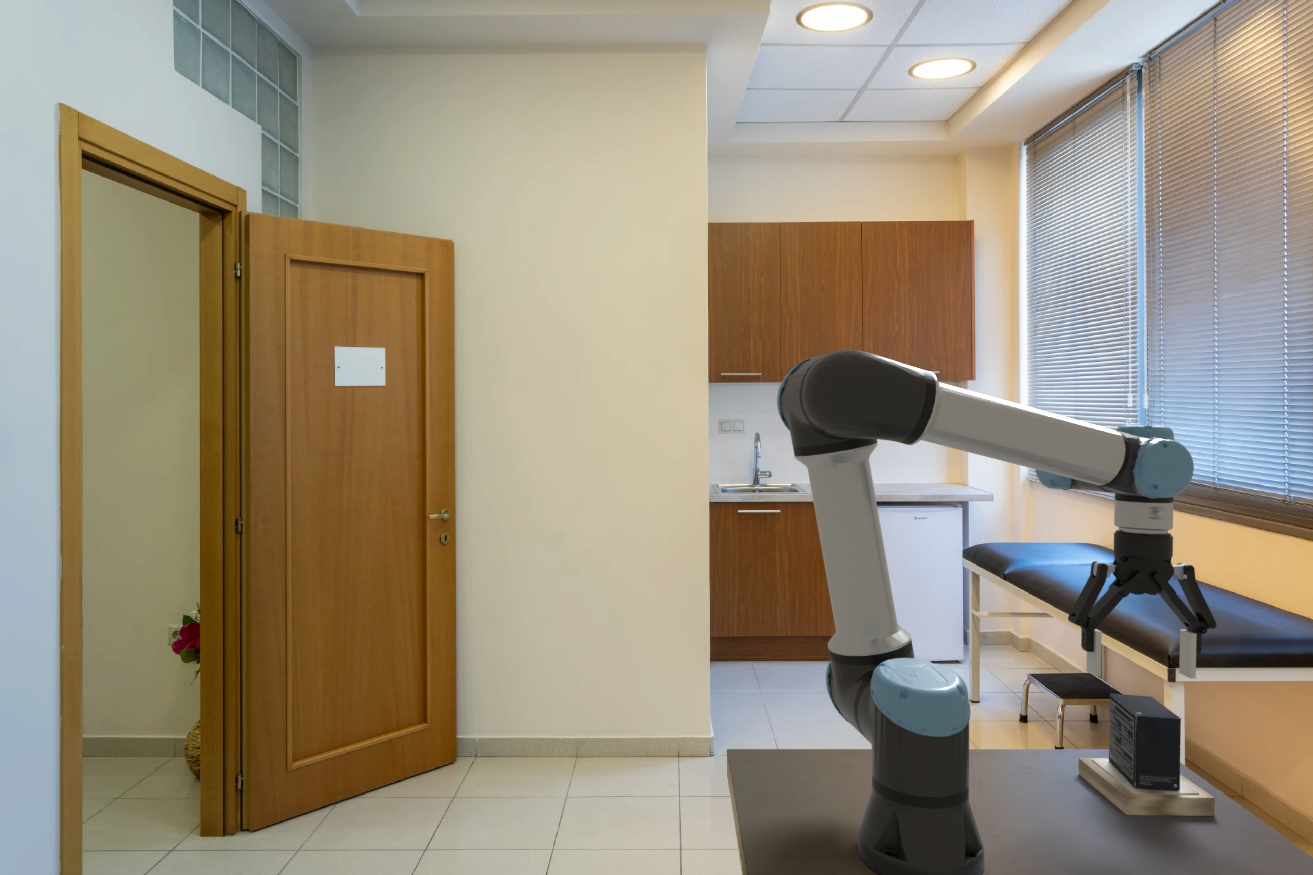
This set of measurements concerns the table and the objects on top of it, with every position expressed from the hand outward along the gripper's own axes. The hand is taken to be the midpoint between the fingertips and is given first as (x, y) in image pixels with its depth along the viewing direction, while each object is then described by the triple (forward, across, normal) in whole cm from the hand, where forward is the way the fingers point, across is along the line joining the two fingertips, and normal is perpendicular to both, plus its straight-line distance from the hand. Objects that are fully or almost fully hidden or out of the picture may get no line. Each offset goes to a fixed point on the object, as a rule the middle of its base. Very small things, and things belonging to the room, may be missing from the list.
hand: (1140, 674), depth 123 cm
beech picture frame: (+18, +1, 0) cm, 18 cm away
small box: (+15, +1, 0) cm, 15 cm away
